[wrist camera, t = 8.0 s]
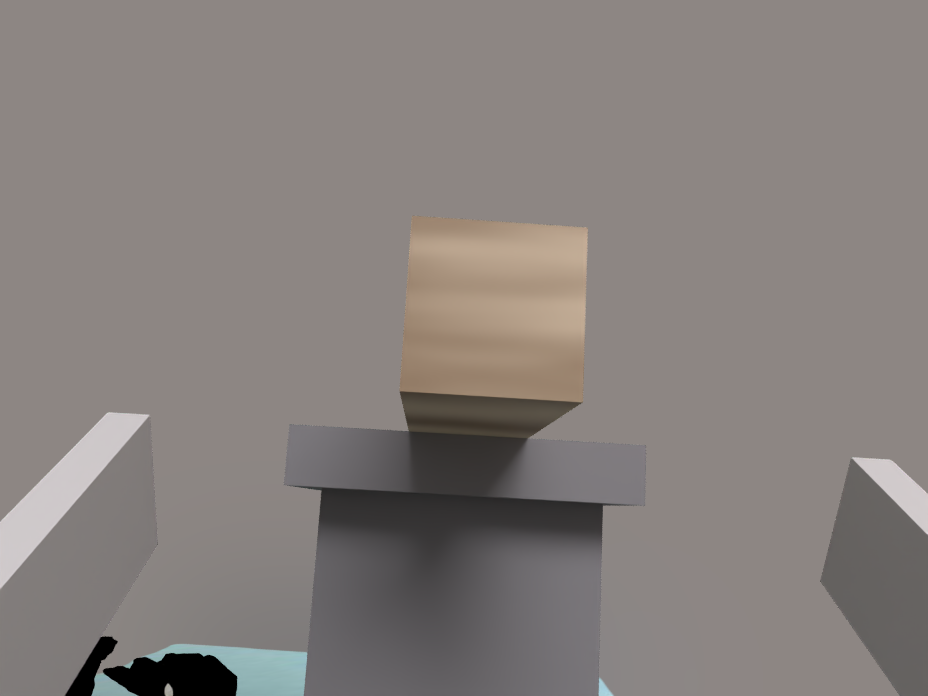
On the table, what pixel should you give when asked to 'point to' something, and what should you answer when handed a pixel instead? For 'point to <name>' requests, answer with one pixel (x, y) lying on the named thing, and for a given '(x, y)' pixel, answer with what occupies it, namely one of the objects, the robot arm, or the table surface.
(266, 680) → the table surface
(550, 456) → the shelf post
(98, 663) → the bowl of black rocks
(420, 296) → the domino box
